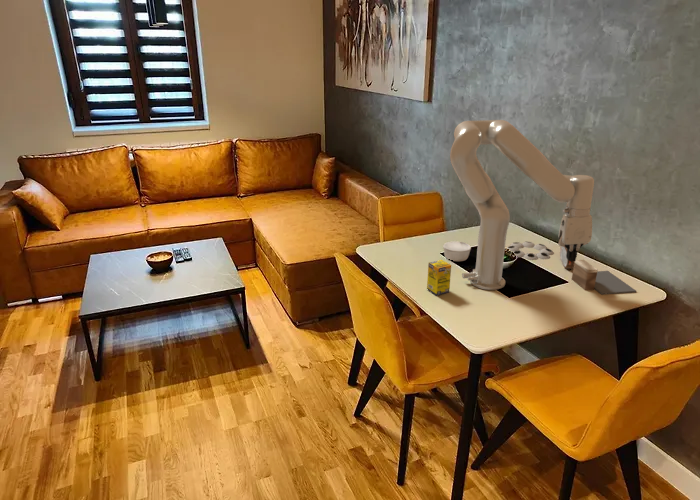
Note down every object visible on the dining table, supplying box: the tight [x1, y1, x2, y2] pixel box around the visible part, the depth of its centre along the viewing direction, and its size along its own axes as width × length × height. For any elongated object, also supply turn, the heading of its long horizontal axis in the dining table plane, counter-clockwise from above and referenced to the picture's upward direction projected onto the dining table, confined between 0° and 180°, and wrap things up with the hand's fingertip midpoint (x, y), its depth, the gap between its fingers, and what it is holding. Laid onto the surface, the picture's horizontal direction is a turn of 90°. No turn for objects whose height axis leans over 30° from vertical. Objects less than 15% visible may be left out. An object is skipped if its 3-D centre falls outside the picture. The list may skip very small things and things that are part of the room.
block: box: [571, 259, 599, 291], centre depth 179 cm, size 4×9×8 cm, turn 6°
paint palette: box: [506, 241, 555, 261], centre depth 210 cm, size 20×20×2 cm
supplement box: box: [426, 259, 452, 297], centre depth 175 cm, size 6×6×11 cm
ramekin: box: [442, 240, 472, 262], centre depth 205 cm, size 11×11×5 cm
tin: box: [559, 246, 575, 270], centre depth 196 cm, size 15×3×8 cm, turn 168°
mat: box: [594, 270, 637, 295], centre depth 181 cm, size 13×17×1 cm
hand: (570, 259), depth 176 cm, fingers closed
